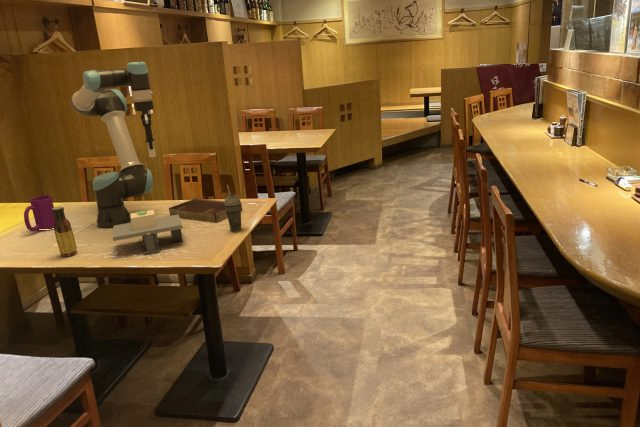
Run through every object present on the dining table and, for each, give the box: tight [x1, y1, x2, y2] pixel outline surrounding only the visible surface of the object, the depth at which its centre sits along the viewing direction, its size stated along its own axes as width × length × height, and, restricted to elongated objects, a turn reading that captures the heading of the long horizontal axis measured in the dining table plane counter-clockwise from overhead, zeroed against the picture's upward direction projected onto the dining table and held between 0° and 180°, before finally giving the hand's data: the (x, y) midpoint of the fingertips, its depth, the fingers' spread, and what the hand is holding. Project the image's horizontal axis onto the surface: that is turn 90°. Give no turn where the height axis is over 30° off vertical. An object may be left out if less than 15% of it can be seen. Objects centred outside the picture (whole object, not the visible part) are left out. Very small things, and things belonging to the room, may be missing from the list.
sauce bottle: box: [52, 205, 78, 257], centre depth 201 cm, size 6×6×20 cm
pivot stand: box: [141, 229, 184, 256], centre depth 209 cm, size 16×22×7 cm
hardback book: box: [168, 197, 243, 224], centre depth 244 cm, size 29×19×5 cm, turn 60°
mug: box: [23, 195, 55, 232], centre depth 236 cm, size 9×16×15 cm, turn 163°
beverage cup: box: [223, 184, 242, 233], centre depth 215 cm, size 7×7×20 cm
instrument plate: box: [112, 209, 184, 242], centre depth 205 cm, size 26×16×8 cm, turn 110°
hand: (152, 156), depth 219 cm, fingers closed
